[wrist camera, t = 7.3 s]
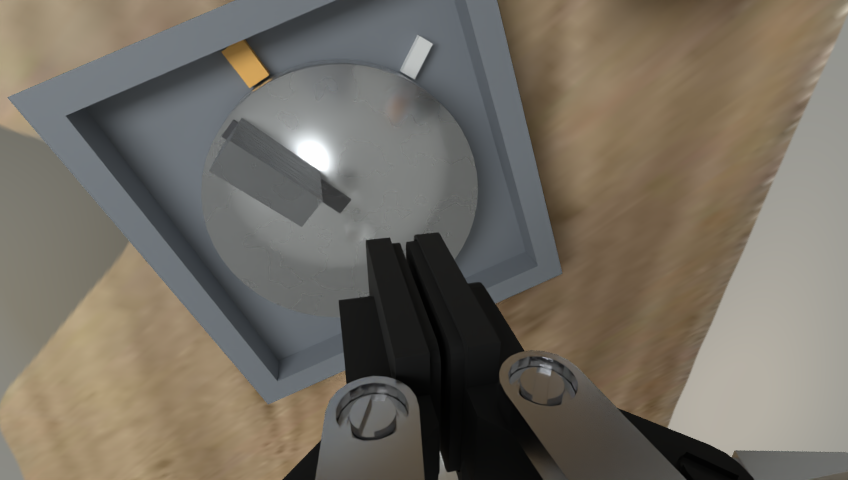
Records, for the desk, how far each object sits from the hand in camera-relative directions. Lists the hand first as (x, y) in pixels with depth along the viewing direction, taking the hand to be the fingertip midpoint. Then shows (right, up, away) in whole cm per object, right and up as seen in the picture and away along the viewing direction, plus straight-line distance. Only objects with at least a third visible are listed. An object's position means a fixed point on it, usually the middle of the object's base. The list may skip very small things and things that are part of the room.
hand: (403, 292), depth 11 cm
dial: (-4, +4, +16) cm, 17 cm away
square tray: (-4, +4, +17) cm, 19 cm away
